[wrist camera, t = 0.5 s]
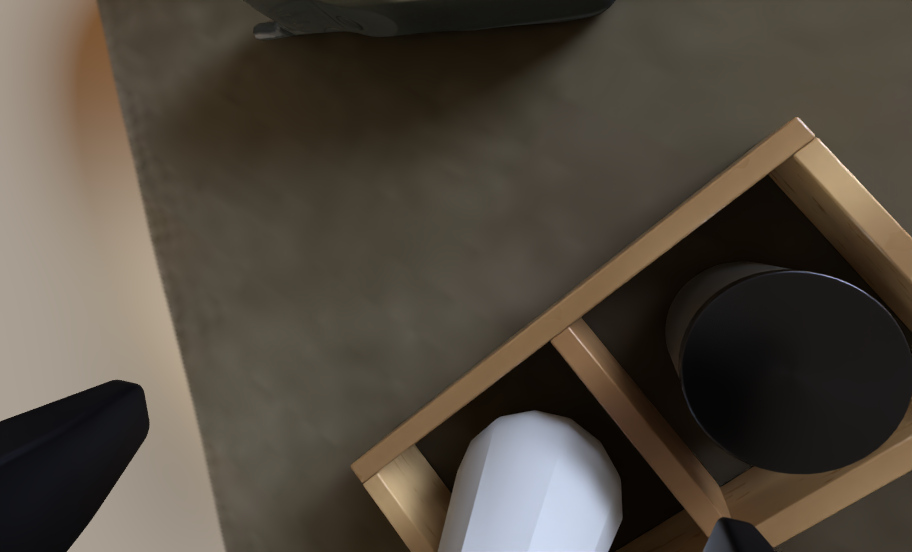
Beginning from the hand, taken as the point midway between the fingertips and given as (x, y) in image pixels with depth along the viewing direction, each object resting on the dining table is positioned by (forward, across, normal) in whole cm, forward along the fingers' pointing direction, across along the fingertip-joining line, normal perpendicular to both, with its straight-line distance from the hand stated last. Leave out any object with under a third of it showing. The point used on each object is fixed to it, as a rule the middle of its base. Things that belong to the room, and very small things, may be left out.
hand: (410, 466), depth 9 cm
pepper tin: (+12, -9, +3) cm, 15 cm away
